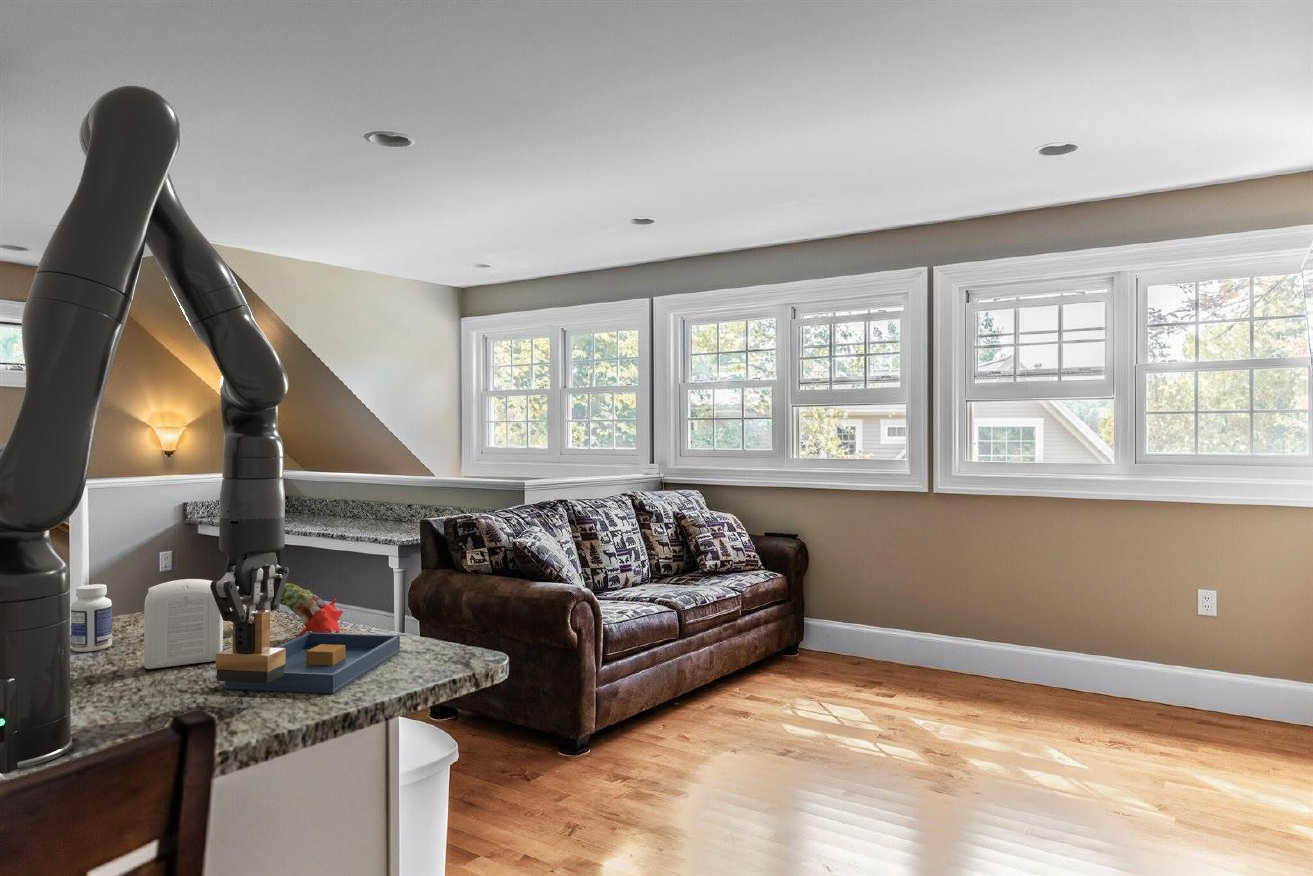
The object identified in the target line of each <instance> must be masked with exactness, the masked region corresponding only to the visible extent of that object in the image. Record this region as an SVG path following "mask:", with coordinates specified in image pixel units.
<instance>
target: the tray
mask: <svg viewBox="0 0 1313 876" xmlns="http://www.w3.org/2000/svg"><path fill="white" fill-rule="evenodd" d="M294 638H295V639H294ZM294 638H292V639H291V640H288V641H286V642H284V643H282V644H280V645H278V646H276V647H274V648H285V649H286V655H285V664H284V676H282V677H280V678H278V679H275V680H273V681H271V682H269V683H267V684H264V683H246V682H227V681H224V683H225V690H240V691H264V692H283V693H284V692H286V693H307V694H309V693H310V694H330V695H331V694H335V693H337V692H338V691H340V690H341V689H343V688H344V687H346V686H348V685H349V684H351V683H353V682H354V681H355V680H357V679H359V678H360V677H362V676H364V675H365V674H366V673H368V672H370V671H371V670H373V669H374V668H376V667H378V666H379V665H380V664H382V663H384V662H385V661H387V660H389V659H390V658H392V657H393V656H395V655H397V654H398V653H400V652H401V636H400V635H396V634H370V633H369V634H367V633H365V634H364V633H341V632H338V633H336V632H331V633H314V632H311V631H307V632H306V633H305V634H303V635H301V636H299V635H298V637H294ZM320 644H328V645H346V658H345V659H343V660H342V661H340V662H338V663H336V664H335V665H333V666H326V665H307V655H306V651H308V650H310V649H312V648H314V647H316V646H318V645H320Z"/></svg>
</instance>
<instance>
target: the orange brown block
mask: <svg viewBox="0 0 1313 876" xmlns="http://www.w3.org/2000/svg"><path fill="white" fill-rule="evenodd" d="M306 655H307V665H326V666H333V665H335V664H336V663H338V662H340V661H342V660H343V659H345V658H346V645H328V644H320V645H318V646H316V647H314V648H312V649H310V650H308V651H306Z"/></svg>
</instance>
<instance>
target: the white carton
mask: <svg viewBox="0 0 1313 876" xmlns="http://www.w3.org/2000/svg"><path fill="white" fill-rule="evenodd" d="M212 581H213V580H209V579H203V578H184V579H183V578H182V579H176V580H170V581H166V582H163V583H159V584H156V585H154V586H151V587H148V588H147V594H146V595H145V599H144V606H143V607H144V613H143V617H144V621H143V625H144V627H143V667H144V668H145V669H146V670H153V669H161V668H169V667H176V666H177V667H178V666H185V665H192V664H202V663H210V662H216V653H218V652H221V651H224V637H223V622H224V621H223V619H222V616H221V614H220V611H219V609H218V606H217V604H216V601H215V599H214V596H213V594H212V591H211V589H210V585H211V582H212Z"/></svg>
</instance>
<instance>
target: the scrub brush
mask: <svg viewBox="0 0 1313 876" xmlns="http://www.w3.org/2000/svg"><path fill="white" fill-rule="evenodd" d="M245 612H246V609H245ZM254 623H255V650H254V652H252V653H250V654H241V653H237V652H236V650H235V624H234V623H232V630H233V635H232V646H231V647H229V648H227V649H223V651H221V652H218V653H216V661H215V670H216V681H217V682H225V681H227V682H246V683H264V684H267V683H269V682H271V681H273V680H275V679H278V678H280V677H282V676H284V664H285V655H286V649H285V648H275V647H271V614H270V611H268V610H255V621H254Z"/></svg>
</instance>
